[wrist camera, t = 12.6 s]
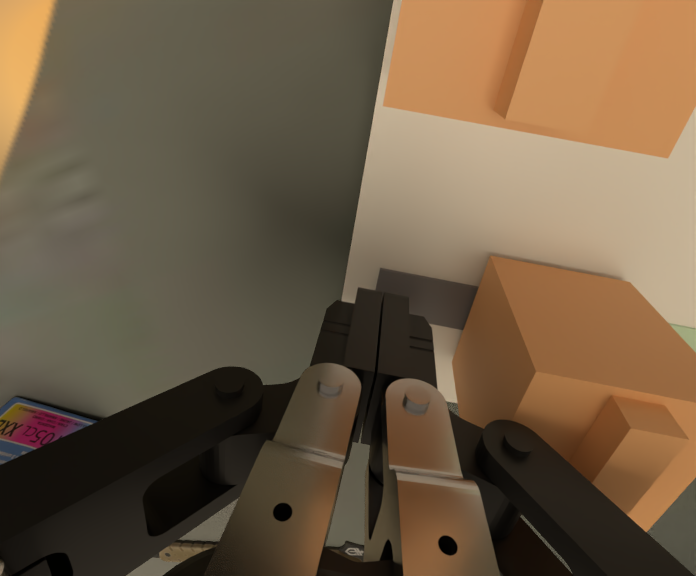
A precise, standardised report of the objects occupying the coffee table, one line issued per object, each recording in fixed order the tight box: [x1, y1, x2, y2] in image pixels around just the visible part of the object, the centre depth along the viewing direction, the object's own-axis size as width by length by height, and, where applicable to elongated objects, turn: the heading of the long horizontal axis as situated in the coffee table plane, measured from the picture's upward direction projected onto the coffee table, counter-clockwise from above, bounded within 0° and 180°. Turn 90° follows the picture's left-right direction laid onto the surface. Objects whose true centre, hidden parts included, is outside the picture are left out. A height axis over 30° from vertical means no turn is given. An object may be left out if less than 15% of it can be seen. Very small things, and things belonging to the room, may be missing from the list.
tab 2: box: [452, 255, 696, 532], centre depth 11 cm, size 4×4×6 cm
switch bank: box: [341, 0, 696, 403], centre depth 12 cm, size 16×16×2 cm
